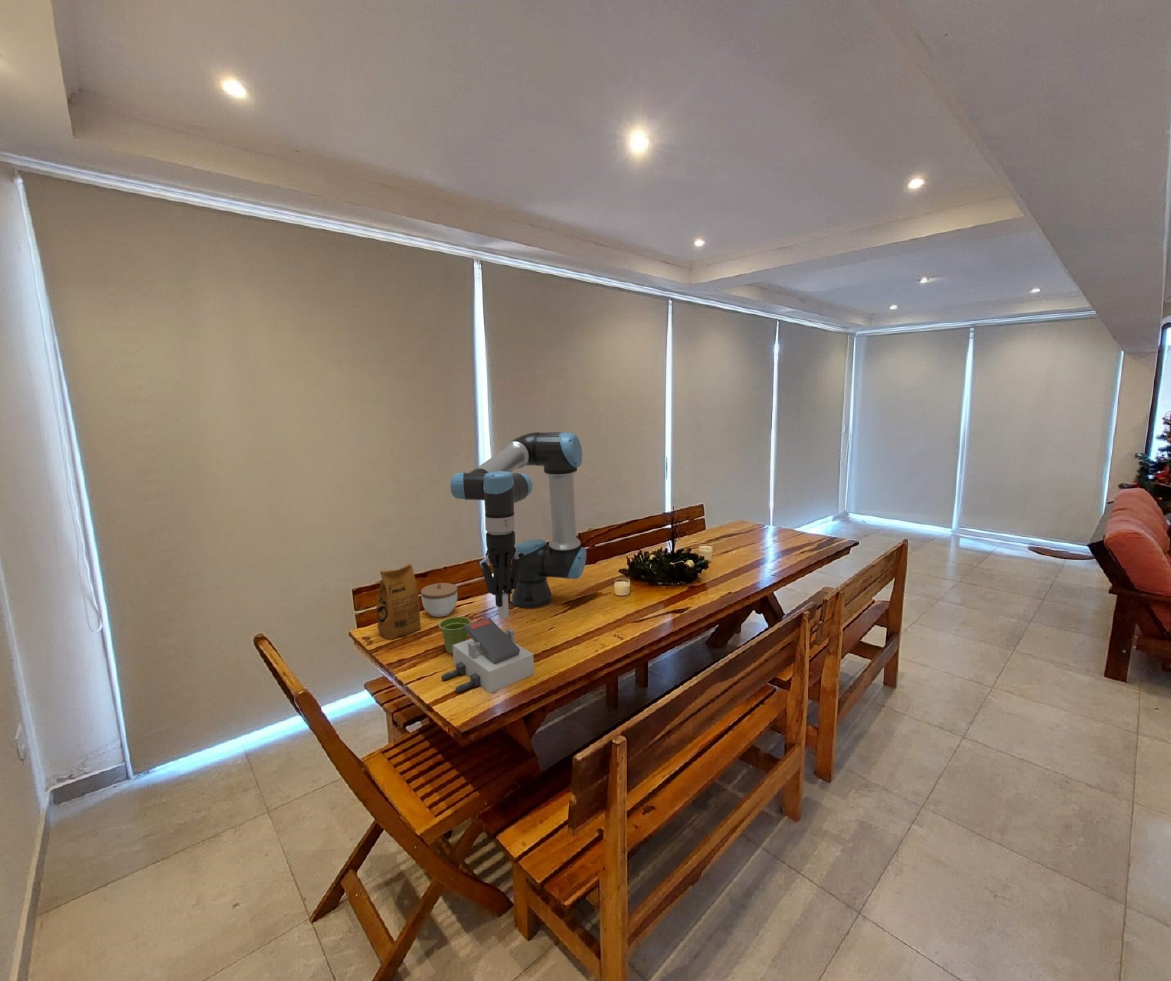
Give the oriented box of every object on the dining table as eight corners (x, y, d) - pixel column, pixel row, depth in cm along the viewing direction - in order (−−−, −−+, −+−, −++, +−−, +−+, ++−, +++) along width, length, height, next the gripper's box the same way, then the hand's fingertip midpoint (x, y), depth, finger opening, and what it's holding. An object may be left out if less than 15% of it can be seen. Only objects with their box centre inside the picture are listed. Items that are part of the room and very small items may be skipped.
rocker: (492, 621, 152) (493, 616, 151) (523, 652, 141) (523, 647, 141) (460, 631, 145) (461, 626, 145) (489, 665, 134) (490, 660, 134)
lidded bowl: (419, 610, 186) (417, 581, 185) (454, 603, 192) (452, 575, 190) (425, 623, 175) (424, 592, 173) (462, 616, 181) (460, 586, 179)
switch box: (495, 649, 156) (494, 618, 155) (533, 674, 142) (533, 641, 140) (432, 672, 143) (430, 639, 141) (467, 703, 128) (465, 667, 127)
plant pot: (434, 649, 156) (433, 622, 155) (461, 639, 163) (460, 613, 162) (450, 660, 150) (448, 632, 148) (477, 649, 156) (476, 622, 155)
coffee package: (374, 633, 168) (369, 569, 164) (410, 621, 177) (405, 560, 173) (388, 642, 161) (383, 576, 157) (424, 630, 170) (420, 566, 166)
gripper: (485, 538, 126) (489, 628, 130) (529, 529, 134) (531, 613, 138) (470, 532, 131) (474, 619, 135) (513, 524, 140) (516, 605, 144)
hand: (503, 616), depth 137 cm, fingers closed
